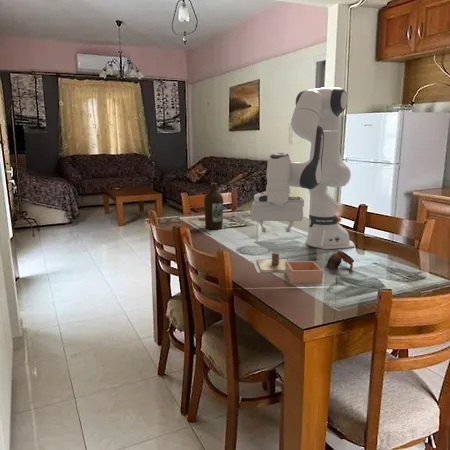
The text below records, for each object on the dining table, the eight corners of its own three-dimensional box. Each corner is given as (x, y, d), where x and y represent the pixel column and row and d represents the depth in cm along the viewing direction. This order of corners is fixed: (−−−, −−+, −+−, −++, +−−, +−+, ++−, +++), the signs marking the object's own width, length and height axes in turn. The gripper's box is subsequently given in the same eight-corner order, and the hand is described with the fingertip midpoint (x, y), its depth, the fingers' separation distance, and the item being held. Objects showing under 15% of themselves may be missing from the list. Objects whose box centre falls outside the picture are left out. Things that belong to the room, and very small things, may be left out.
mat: (291, 262, 171) (291, 260, 171) (299, 273, 157) (299, 271, 157) (252, 262, 170) (252, 261, 170) (257, 274, 156) (257, 272, 156)
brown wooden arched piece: (327, 264, 169) (339, 248, 168) (347, 279, 165) (359, 262, 163) (319, 265, 159) (331, 247, 157) (339, 280, 155) (352, 262, 153)
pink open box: (313, 273, 157) (314, 261, 156) (322, 284, 146) (322, 270, 145) (285, 274, 157) (285, 261, 155) (291, 284, 146) (291, 271, 145)
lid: (288, 261, 170) (288, 248, 169) (295, 271, 158) (295, 258, 156) (256, 261, 170) (256, 249, 168) (261, 272, 157) (261, 258, 156)
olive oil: (200, 227, 232) (200, 182, 226) (216, 224, 238) (216, 181, 232) (211, 231, 223) (211, 184, 218) (227, 228, 230) (227, 183, 224)
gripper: (302, 195, 161) (300, 230, 164) (250, 195, 160) (248, 230, 163) (306, 198, 155) (304, 233, 158) (252, 197, 154) (250, 233, 157)
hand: (275, 231), depth 160 cm, fingers open, 8 cm apart
